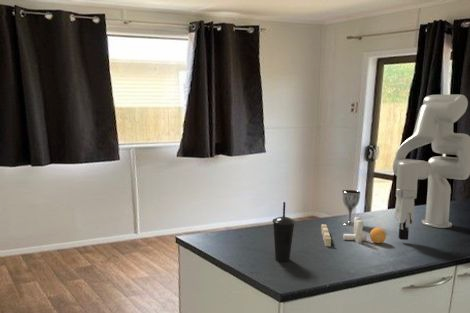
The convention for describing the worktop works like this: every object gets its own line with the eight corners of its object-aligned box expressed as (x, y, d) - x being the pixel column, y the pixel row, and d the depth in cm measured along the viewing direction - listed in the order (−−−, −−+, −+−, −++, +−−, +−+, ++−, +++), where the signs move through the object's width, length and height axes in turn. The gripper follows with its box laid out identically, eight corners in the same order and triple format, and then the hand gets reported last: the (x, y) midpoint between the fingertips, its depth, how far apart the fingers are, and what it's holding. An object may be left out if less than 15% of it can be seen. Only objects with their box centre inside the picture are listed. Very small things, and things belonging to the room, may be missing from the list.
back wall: (321, 231, 178) (321, 224, 178) (325, 231, 178) (326, 224, 178) (325, 246, 158) (325, 238, 158) (330, 246, 158) (331, 238, 158)
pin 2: (354, 241, 166) (356, 220, 165) (361, 241, 165) (362, 220, 164) (355, 242, 163) (357, 221, 162) (362, 243, 163) (363, 222, 162)
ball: (375, 222, 164) (386, 229, 166) (364, 231, 166) (375, 238, 168) (380, 231, 159) (391, 239, 161) (369, 241, 161) (380, 248, 163)
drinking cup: (296, 257, 146) (298, 201, 143) (289, 264, 139) (291, 205, 136) (275, 254, 149) (277, 199, 146) (268, 260, 142) (269, 203, 140)
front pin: (365, 239, 168) (343, 238, 169) (365, 234, 167) (343, 232, 168) (366, 241, 165) (344, 240, 166) (366, 235, 165) (344, 234, 166)
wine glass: (344, 220, 197) (345, 189, 195) (361, 223, 192) (362, 191, 191) (337, 223, 190) (339, 191, 189) (354, 227, 186) (356, 193, 184)
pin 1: (352, 237, 171) (354, 216, 170) (359, 237, 170) (360, 217, 169) (353, 239, 168) (355, 218, 167) (360, 239, 168) (361, 218, 167)
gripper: (391, 189, 170) (388, 233, 172) (401, 196, 156) (398, 244, 158) (410, 190, 169) (407, 234, 171) (422, 197, 155) (419, 245, 157)
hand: (403, 238), depth 164 cm, fingers closed
